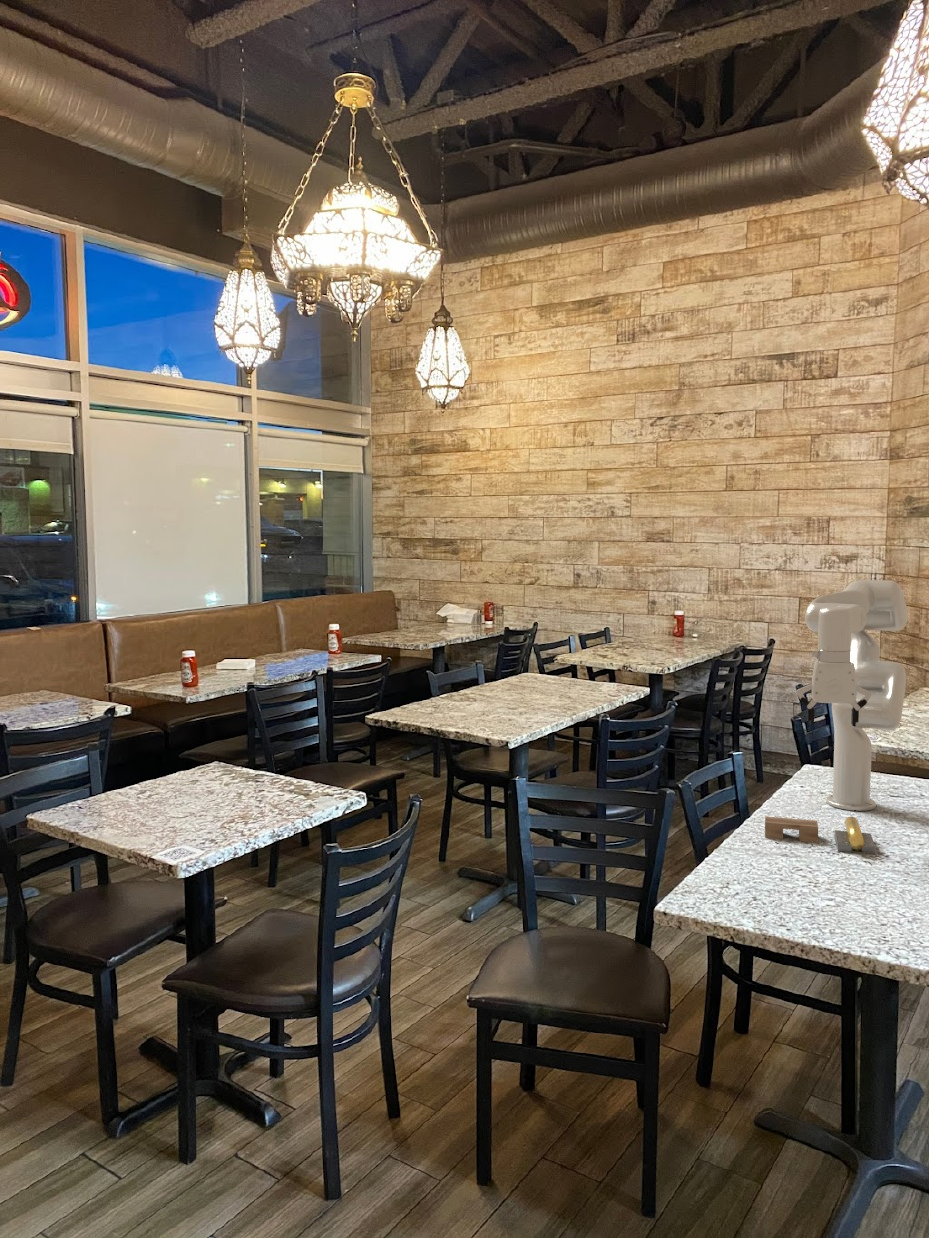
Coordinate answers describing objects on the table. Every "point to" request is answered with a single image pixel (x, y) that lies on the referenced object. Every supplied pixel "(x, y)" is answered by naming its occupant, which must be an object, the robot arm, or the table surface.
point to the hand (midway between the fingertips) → (832, 724)
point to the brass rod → (854, 833)
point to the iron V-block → (845, 845)
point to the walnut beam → (805, 827)
